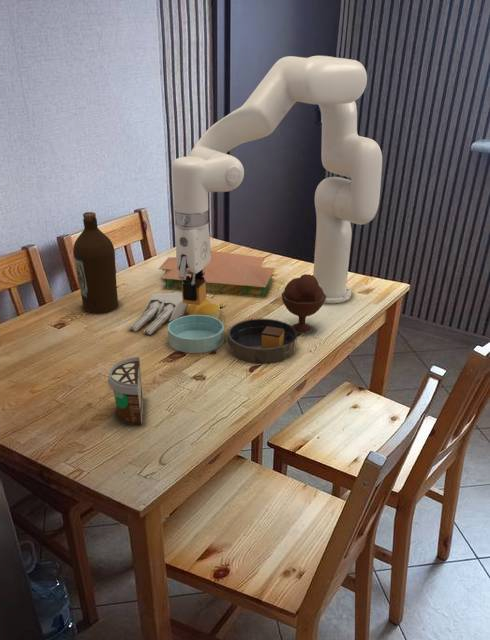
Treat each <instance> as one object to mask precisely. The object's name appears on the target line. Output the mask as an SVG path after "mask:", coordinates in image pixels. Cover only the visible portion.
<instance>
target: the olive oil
mask: <svg viewBox="0 0 490 640" xmlns="http://www.w3.org/2000/svg"><path fill="white" fill-rule="evenodd" d="M96 214H97V213H96V212H94V211H86V212H84V213H82V217H83V219H82V221H83V227H84V228H83V230H82V232H81V233H80V234H79V236H78V237H77V238H76V239H75V241H74V244H73V248H72V250H73V251H72V255H73V259H74V264H75V271H76V275H77V280H78V285H79V291H80V295H81V301H82V307H83V309H84V310H85V311H86V312H88V313H93V314H105V313H110V312H112V311H114V310H116V309H117V308H118V306H119V300H118V298H119V297H118V285H117V269H116V268H117V267H116V251H115V247H114V244H113V242H112V240H111V238H109V236H107V235H106V234H105V233H104V232H103V231H101V230H100V228H99V227H98V218H97V215H96Z"/></svg>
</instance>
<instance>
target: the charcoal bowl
mask: <svg viewBox="0 0 490 640" xmlns="http://www.w3.org/2000/svg"><path fill="white" fill-rule="evenodd" d="M267 326H269V327H276V328H282V329H284V345H283V346H280V347H276V348H267V349H263V348H261V344H262V332H263V331H264V329H265V328H266V327H267ZM292 326H293V325H290V324H288V323H287V322H285V321H281V320H277V319H271V318H252V319H246V320H242V321H240V322H237V323H235V324H233V325H232V326H230V328H229V329H228V330H227V349H228V352H229V354H231V356H232V357H235V358H236V359H238V360H240V361H243V362H246V363H251V364H261V365H262V364H264V365H266V364H275V363H279V362H284V361H286V360H289V359H290V358H292V357H293V356H294V355H295V353H296V352H297V347H298V346H297V345H298V332H296V330H295V329H294V328H293V327H292Z"/></svg>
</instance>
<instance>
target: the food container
mask: <svg viewBox="0 0 490 640" xmlns="http://www.w3.org/2000/svg"><path fill="white" fill-rule="evenodd" d="M141 373H142V372H141V360H140V356H133V357H129V358H125V359H122V360H120V361H118V362H116V363H115V364H113V365H112V366H111V368H110V370H109V373H108V380H107V382H108V386H109V387H110V388H111V389H112V392H113V397H114V401H115V406H116V410H117V411H116V412H117V416H118V418H119V419H120V420H121V421H122V422H124V423H126V424H129V425H133V426H135V425H136V426H142V424H143V423H142V422H143V408H144V398H143V396H144V395H143V387H142V384H143V383H142V374H141Z"/></svg>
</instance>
